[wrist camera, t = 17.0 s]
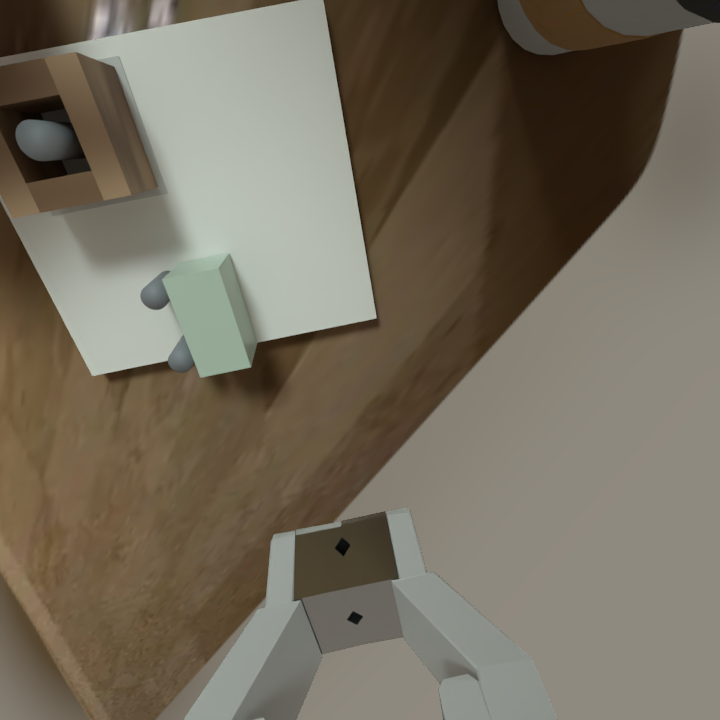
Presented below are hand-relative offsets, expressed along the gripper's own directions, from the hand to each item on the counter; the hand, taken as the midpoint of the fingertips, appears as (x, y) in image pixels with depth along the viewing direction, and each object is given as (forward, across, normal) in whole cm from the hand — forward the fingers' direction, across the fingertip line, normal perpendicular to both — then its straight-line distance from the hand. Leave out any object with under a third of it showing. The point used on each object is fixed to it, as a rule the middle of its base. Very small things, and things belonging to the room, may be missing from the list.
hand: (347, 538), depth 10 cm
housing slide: (+20, +7, +1) cm, 21 cm away
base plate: (+21, +7, -5) cm, 23 cm away
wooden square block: (+20, +10, -9) cm, 24 cm away
